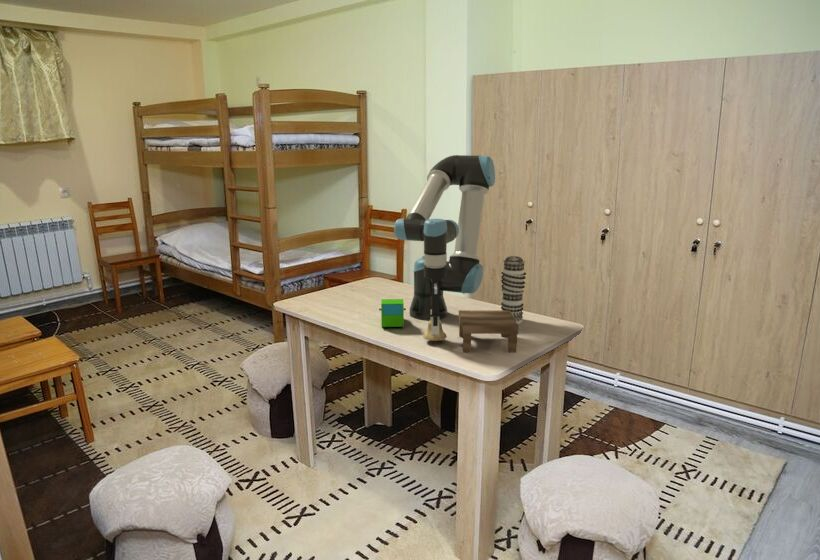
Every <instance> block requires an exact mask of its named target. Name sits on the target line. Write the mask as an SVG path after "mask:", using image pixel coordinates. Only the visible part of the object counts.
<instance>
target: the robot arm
mask: <svg viewBox="0 0 820 560" xmlns="http://www.w3.org/2000/svg"><path fill="white" fill-rule="evenodd" d="M495 183H496V168H495V164H494V160H493V159H492V158H491V157H490V156H489V155H481V154H480V155H479V154H478V155H467V154H466V155H465V154H463V155H462V154H461V155H460V154H457V155H456V154H454V155H449V156H447V157H444V158H443V159H441V160H440V161H438V162H437V163H436V164H434V166H433V167H432V168H431V169H430V170H429V172H428V174H427V176H426V183H425V184H424V186H423V188H422V190H421V191H420V193H419V194H418V197H417V199H416V200H415V201H414V204H413V205H412V207H411V209H410V211H409V212H408V214H407V216H406V218H404V217H403V218H398V219H397V220H396V221H395V223H394V227H393V230H394V231H393V232H394V236H395V237H396V239H398V240H402V241H406V242H407V241H414V242H423V256H421V257H420V258H417V259H416V260H415V262H414V263H413V266H414V267H413V297H412V301H411V303H410V306H409V315H410V317H412V318H415V319H418V320H429V321H430V320H431V335H439V321H440V319H443V318H446V317H447V316H448V307H447V304H446V301H445V298H444V292H449V293H450V292H451V293H461V294H462V295H463V294H464V295H465V294H474V293H476V292H477V291H478V290H479V288H480V286H481V284H482V281H483V275H484V266H483V265H482V264H481V263H480V261H481V260H480V258H479V257H478V255H477V252H478V245H479V238H480V237H479V236H480V229H481V228H480V227H481V222H482V215H483V207H484V198H485V195H486V194H488V193H489V192H490V191H489V190H490V188H491V187H494V185H495ZM450 186H459V187H458V189H459V190H460V192H461V200H460V207H459V213H458V214H459V215H458V223H457V222H456V221H454V220H452V219H443V218H431V216H432V214H433V213H434V211H435V209H436V207H437V205H438V203H439V201H440V200H441V197H442V195H443V194H444V192H445V191H447V190H448V189H449V188H450ZM453 241H455V245H454V252H453V253H452V254H451V255H450V256H449V260H448V261H447V258H448V257H447V256H448V255H447V254H448V253H447V248H448V247H447V244H449V243H451V242H453Z"/></svg>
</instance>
